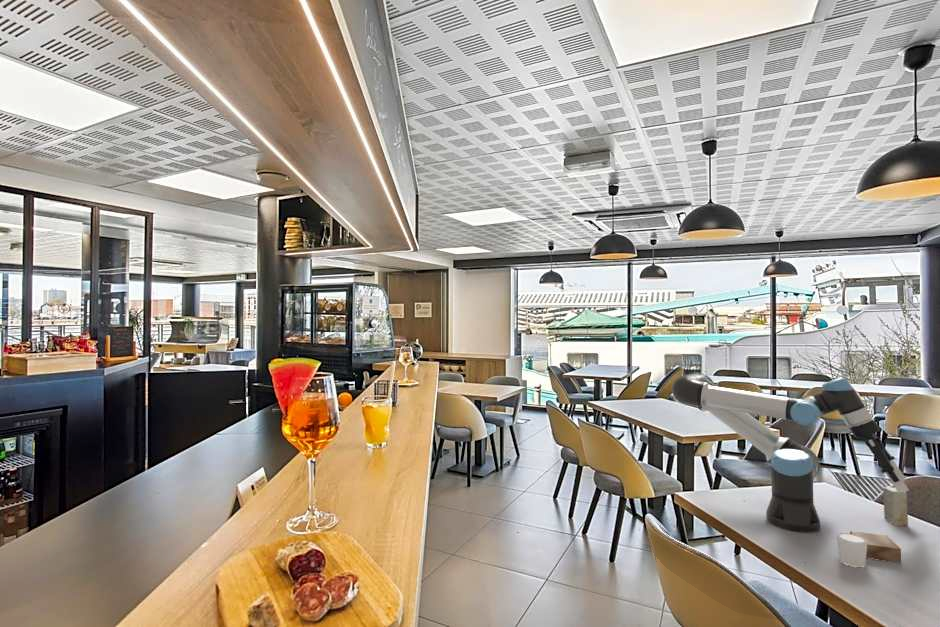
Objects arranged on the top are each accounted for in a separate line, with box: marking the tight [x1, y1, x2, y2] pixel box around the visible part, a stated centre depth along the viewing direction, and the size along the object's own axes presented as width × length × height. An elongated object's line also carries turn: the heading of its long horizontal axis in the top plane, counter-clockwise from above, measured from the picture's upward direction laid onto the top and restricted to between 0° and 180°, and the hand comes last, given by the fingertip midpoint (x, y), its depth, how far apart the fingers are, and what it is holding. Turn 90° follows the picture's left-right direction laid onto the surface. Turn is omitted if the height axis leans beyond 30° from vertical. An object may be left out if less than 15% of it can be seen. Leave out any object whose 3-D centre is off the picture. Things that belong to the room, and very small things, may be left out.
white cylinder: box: [836, 532, 867, 567], centre depth 135 cm, size 7×7×7 cm
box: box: [882, 486, 909, 527], centre depth 161 cm, size 5×4×11 cm
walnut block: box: [849, 530, 902, 564], centre depth 140 cm, size 9×9×4 cm
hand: (902, 486), depth 153 cm, fingers open, 13 cm apart
